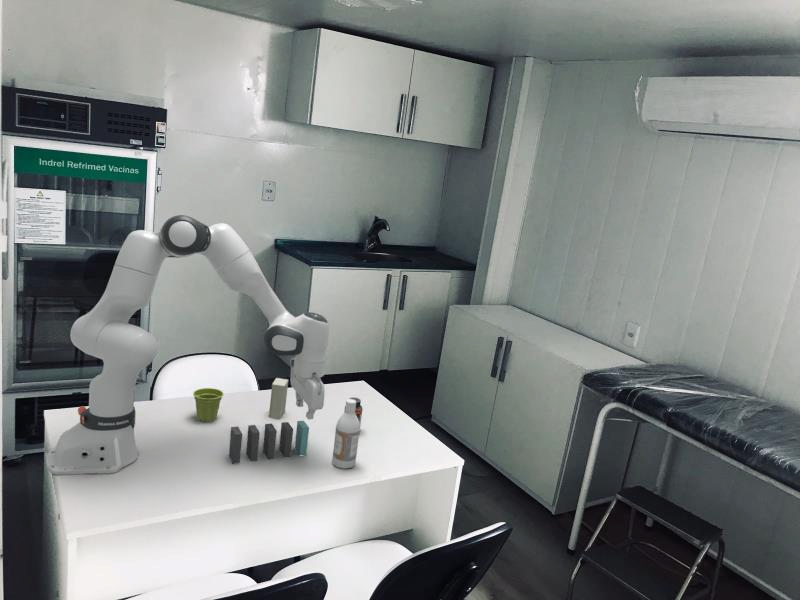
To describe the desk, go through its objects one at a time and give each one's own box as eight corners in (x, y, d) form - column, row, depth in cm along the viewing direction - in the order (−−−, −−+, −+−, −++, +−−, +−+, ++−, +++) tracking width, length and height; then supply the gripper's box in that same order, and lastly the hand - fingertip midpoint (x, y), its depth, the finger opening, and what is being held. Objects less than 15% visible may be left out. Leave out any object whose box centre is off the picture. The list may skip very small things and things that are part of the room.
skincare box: (272, 410, 217) (275, 377, 215) (285, 412, 217) (288, 379, 214) (268, 417, 211) (271, 383, 208) (281, 419, 211) (284, 385, 208)
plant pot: (188, 414, 206) (189, 389, 204) (216, 410, 211) (218, 386, 209) (196, 425, 198) (197, 400, 196) (225, 422, 204) (227, 397, 202)
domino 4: (283, 457, 186) (286, 429, 184) (278, 450, 190) (281, 422, 188) (290, 457, 187) (293, 429, 185) (285, 449, 191) (288, 421, 189)
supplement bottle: (341, 434, 206) (345, 401, 204) (342, 426, 212) (346, 395, 210) (359, 436, 207) (363, 403, 204) (359, 428, 212) (363, 397, 210)
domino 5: (300, 447, 193) (303, 420, 191) (306, 455, 189) (309, 427, 187) (294, 448, 192) (297, 421, 190) (299, 455, 188) (302, 428, 186)
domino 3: (267, 459, 183) (270, 431, 181) (262, 451, 188) (265, 424, 186) (274, 458, 184) (276, 430, 182) (269, 451, 188) (271, 423, 187)
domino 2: (250, 461, 181) (252, 432, 179) (245, 453, 185) (248, 425, 183) (257, 460, 182) (259, 432, 180) (252, 452, 186) (255, 424, 184)
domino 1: (232, 463, 178) (235, 434, 177) (228, 455, 183) (231, 426, 181) (239, 462, 179) (242, 433, 177) (235, 454, 184) (238, 426, 182)
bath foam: (327, 460, 188) (334, 397, 183) (347, 456, 192) (354, 395, 187) (339, 471, 182) (347, 407, 178) (359, 466, 187) (367, 403, 182)
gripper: (332, 380, 177) (326, 425, 179) (308, 356, 194) (303, 398, 197) (311, 380, 174) (305, 427, 176) (288, 357, 191) (284, 399, 194)
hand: (304, 412), depth 187 cm, fingers open, 8 cm apart
